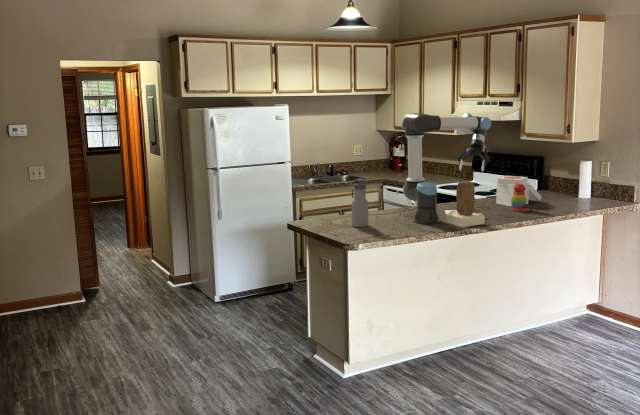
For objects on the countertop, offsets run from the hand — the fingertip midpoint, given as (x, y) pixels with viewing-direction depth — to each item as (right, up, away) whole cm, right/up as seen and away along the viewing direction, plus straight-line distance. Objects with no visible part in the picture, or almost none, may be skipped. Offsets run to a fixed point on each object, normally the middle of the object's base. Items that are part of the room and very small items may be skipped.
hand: (470, 169), depth 376 cm
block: (-6, -27, -9) cm, 29 cm away
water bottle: (-69, -34, -11) cm, 77 cm away
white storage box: (+44, -20, +50) cm, 69 cm away
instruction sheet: (-6, -26, +21) cm, 34 cm away
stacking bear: (+37, -25, +25) cm, 51 cm away
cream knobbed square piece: (-6, -32, -9) cm, 34 cm away
